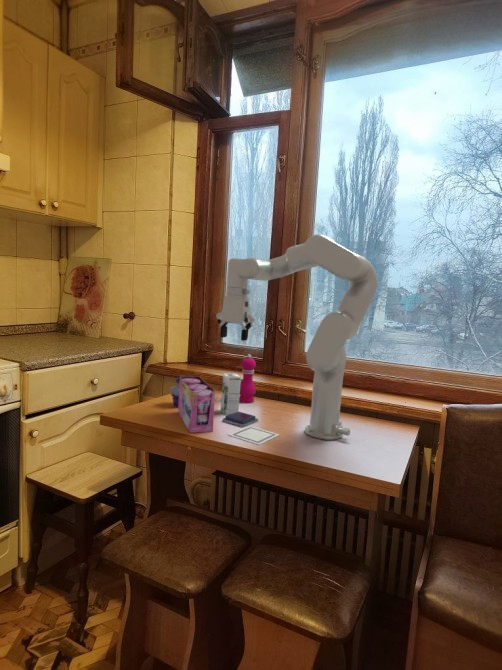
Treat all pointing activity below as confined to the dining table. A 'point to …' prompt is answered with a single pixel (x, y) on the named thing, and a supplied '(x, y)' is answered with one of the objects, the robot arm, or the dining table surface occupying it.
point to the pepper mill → (247, 380)
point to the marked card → (254, 435)
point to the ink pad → (240, 419)
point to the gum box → (196, 404)
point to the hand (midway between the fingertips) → (233, 338)
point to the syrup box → (230, 393)
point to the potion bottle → (176, 391)
